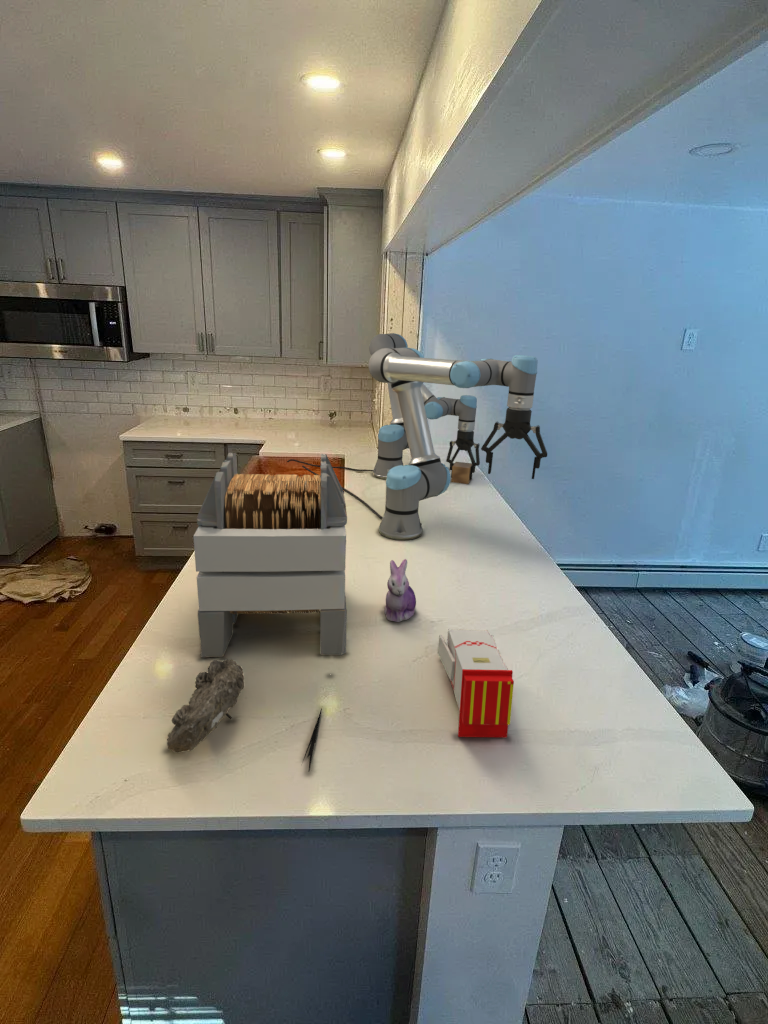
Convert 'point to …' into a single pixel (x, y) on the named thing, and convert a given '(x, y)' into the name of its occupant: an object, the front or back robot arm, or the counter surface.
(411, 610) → the figurine
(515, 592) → the counter surface
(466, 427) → the back robot arm
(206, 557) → the record crate
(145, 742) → the counter surface
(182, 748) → the fossil
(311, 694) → the counter surface
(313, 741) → the feather
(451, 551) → the counter surface
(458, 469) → the block
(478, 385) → the front robot arm
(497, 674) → the toy
